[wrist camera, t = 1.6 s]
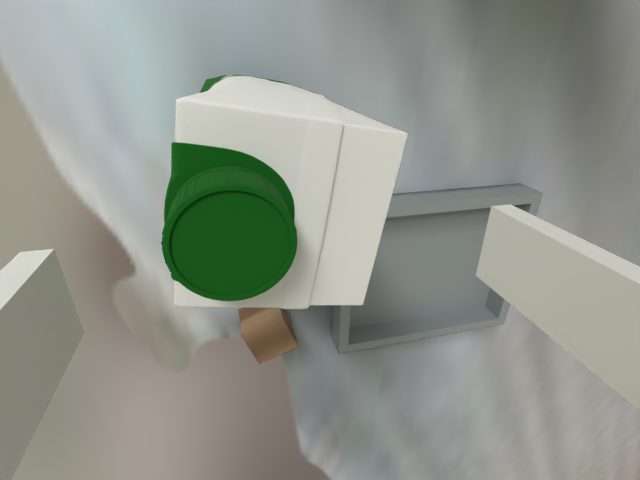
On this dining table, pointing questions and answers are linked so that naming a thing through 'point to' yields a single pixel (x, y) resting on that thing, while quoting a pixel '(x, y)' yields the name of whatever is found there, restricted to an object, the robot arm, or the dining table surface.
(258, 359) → the walnut block
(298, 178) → the soya milk
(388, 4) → the dining table surface
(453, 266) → the tray
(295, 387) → the dining table surface
